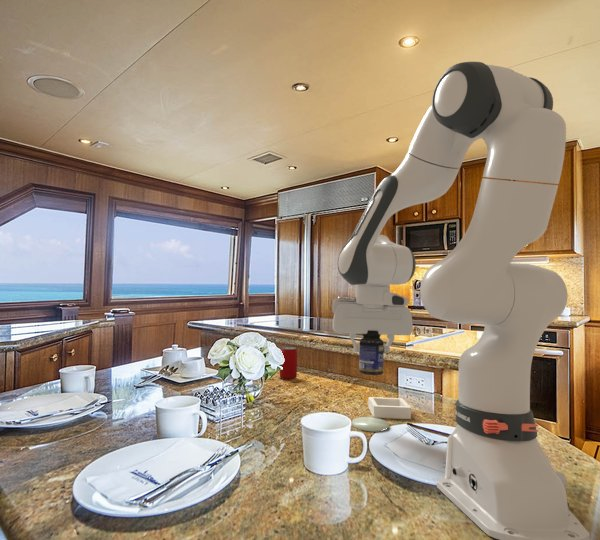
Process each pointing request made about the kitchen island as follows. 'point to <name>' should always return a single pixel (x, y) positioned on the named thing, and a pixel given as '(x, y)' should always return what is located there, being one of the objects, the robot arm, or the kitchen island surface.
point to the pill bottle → (371, 354)
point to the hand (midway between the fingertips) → (371, 352)
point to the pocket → (389, 408)
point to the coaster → (369, 424)
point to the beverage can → (289, 363)
